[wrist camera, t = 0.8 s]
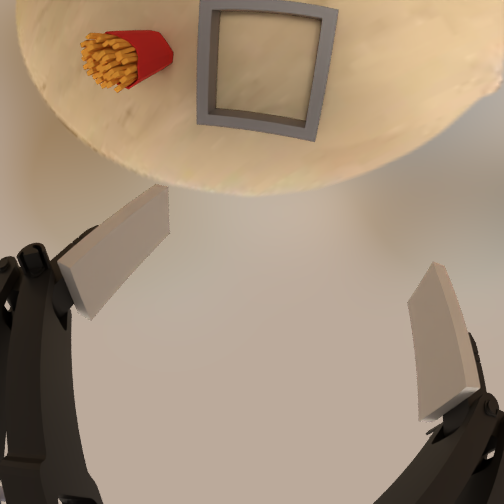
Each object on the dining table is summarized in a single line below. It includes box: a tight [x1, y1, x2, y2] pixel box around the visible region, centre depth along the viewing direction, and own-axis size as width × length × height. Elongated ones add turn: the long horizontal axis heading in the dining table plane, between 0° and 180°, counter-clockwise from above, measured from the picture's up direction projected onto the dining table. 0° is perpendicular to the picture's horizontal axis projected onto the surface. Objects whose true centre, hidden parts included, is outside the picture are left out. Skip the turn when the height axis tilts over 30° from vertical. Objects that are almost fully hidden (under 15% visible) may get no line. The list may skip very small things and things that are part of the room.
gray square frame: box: [197, 0, 338, 142], centre depth 26 cm, size 17×15×3 cm
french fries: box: [80, 30, 173, 93], centre depth 23 cm, size 8×4×12 cm, turn 29°
